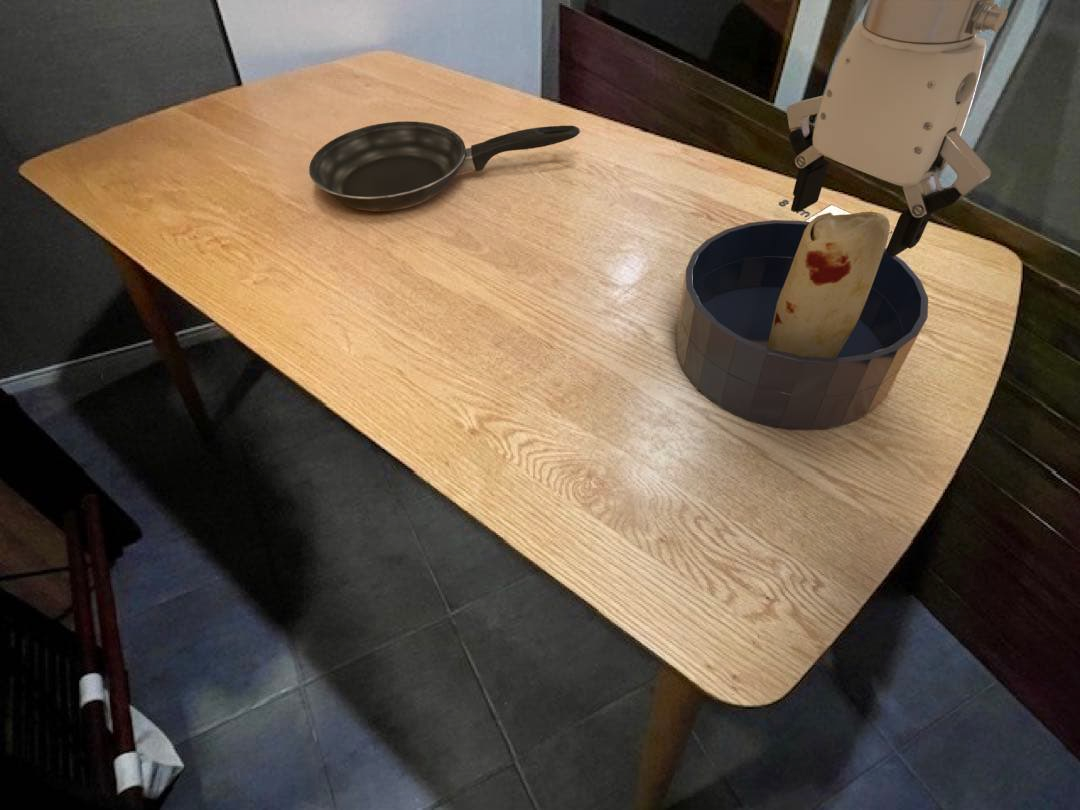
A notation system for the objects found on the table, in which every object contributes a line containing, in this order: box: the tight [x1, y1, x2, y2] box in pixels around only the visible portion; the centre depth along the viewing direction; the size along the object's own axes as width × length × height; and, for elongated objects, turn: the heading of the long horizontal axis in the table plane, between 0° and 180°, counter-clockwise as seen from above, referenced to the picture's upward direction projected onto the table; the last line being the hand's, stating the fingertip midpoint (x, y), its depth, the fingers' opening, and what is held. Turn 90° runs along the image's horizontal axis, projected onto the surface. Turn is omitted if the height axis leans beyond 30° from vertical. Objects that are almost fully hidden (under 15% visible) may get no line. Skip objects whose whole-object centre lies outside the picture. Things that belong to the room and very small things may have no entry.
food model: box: [767, 211, 891, 358], centre depth 64 cm, size 10×7×20 cm
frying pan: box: [308, 120, 581, 212], centre depth 104 cm, size 44×25×7 cm, turn 94°
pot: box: [675, 219, 929, 431], centre depth 72 cm, size 24×24×10 cm
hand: (848, 227), depth 57 cm, fingers open, 9 cm apart
